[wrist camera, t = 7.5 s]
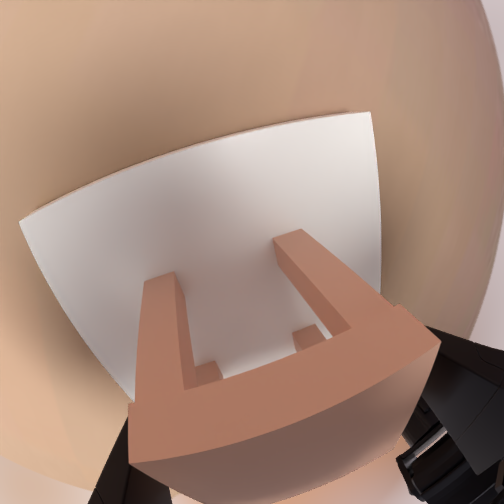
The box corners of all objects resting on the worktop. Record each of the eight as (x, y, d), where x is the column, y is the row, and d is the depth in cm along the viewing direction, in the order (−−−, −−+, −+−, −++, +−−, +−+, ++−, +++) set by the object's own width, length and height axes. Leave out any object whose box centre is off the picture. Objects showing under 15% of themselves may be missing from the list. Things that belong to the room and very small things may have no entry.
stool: (303, 225, 11) (441, 341, 4) (318, 340, 14) (393, 449, 7) (140, 279, 10) (128, 463, 4) (198, 384, 13) (230, 514, 6)
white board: (362, 341, 17) (374, 354, 16) (162, 413, 15) (163, 432, 14) (349, 112, 11) (370, 111, 9) (34, 210, 9) (18, 221, 7)
